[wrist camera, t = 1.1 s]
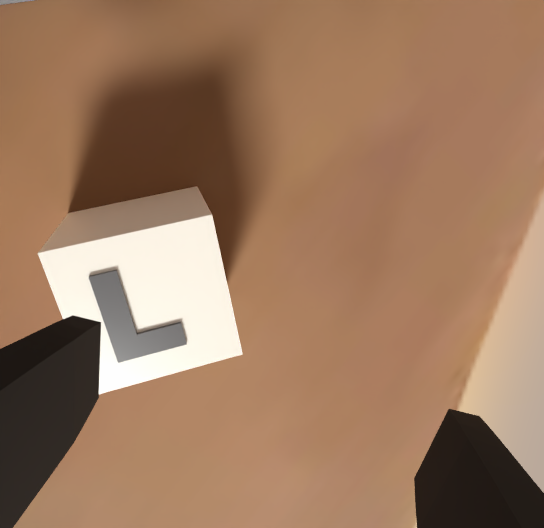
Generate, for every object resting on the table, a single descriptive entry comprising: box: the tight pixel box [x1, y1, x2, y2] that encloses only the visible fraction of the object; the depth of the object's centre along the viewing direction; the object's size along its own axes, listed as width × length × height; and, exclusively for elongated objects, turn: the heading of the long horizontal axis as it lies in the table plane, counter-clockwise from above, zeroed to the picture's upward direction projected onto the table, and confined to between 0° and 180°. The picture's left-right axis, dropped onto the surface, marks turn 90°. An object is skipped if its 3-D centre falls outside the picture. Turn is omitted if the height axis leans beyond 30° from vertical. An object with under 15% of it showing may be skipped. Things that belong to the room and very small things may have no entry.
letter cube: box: [38, 186, 242, 394], centre depth 16 cm, size 5×5×5 cm
